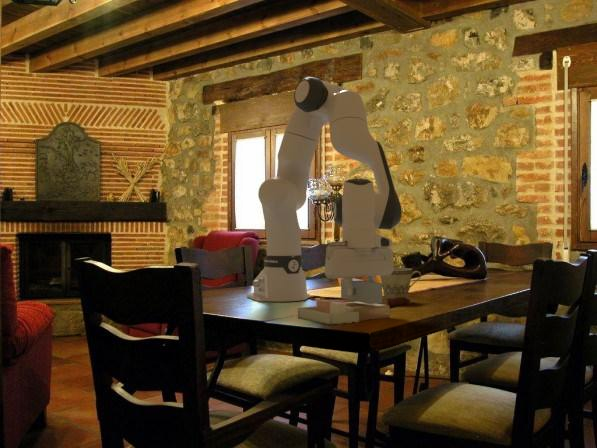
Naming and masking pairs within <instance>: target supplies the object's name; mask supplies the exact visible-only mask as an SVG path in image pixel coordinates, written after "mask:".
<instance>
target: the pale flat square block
mask: <svg viewBox="0 0 597 448" xmlns="http://www.w3.org/2000/svg"><path fill="white" fill-rule="evenodd" d="M343 303H345V304H346V313H348V312H359V322H362V321H369V319H371V320H377V319H378V320H379V319H386V318H390V314H391V313H390V312H391V311H390V309H391V307H390V306H389V305H383V304H367V303H363V302H358V301H355V302H351V301H348V302H347V301H346V302H345V301H344V302H343Z"/></svg>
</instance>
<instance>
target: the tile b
mask: <svg viewBox="0 0 597 448" xmlns="http://www.w3.org/2000/svg"><path fill="white" fill-rule="evenodd" d="M338 313H346V304H345V303H344V302H337V301H334V302H333V301H332V303H330V314H338Z"/></svg>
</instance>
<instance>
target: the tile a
mask: <svg viewBox="0 0 597 448" xmlns="http://www.w3.org/2000/svg"><path fill="white" fill-rule="evenodd" d="M332 302H333V301H332V300H327V299H317V300H316V306H317V312H322V313H327V314H330V303H332Z"/></svg>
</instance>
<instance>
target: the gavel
mask: <svg viewBox="0 0 597 448" xmlns="http://www.w3.org/2000/svg"><path fill="white" fill-rule="evenodd" d="M350 302H355V301H353V300H350ZM412 303H413V300H412V299H409V298H408V299H407V298H405V297H401V298H386V297H384V295H382V303H376V304H383V305H389V306H390V308H391V307H392V308H393V307H400V306H407V305H410V304H412Z"/></svg>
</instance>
